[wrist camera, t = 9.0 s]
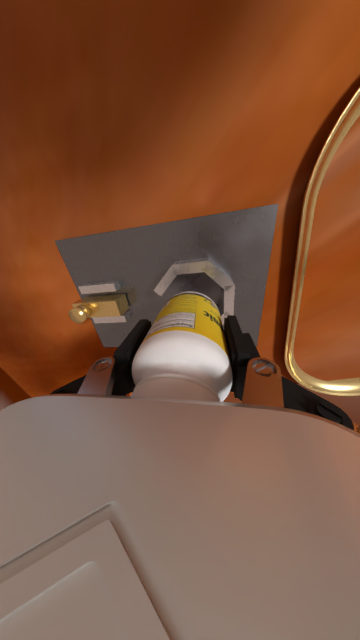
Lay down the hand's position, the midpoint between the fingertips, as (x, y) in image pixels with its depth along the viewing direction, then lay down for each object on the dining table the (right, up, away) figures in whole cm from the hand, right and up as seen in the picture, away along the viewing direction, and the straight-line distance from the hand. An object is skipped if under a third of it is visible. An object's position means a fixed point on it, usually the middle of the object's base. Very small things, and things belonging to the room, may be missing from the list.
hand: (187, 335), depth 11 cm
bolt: (-11, +4, +9) cm, 14 cm away
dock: (-2, +5, +9) cm, 10 cm away
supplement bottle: (0, +1, +3) cm, 3 cm away
